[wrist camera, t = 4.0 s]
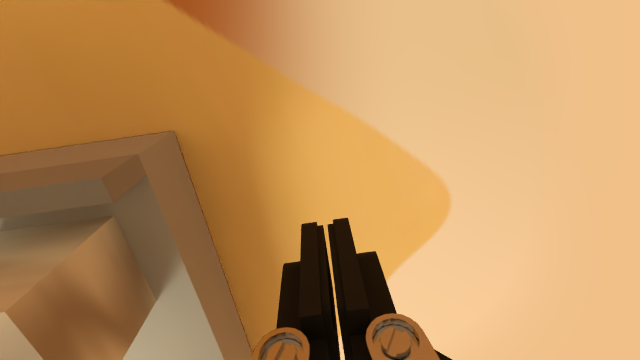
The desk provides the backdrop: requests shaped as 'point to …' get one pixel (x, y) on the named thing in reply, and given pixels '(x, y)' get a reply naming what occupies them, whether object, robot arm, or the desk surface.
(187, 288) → the trap board
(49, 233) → the block
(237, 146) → the desk surface
